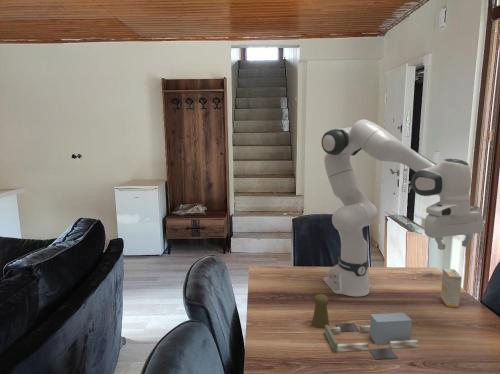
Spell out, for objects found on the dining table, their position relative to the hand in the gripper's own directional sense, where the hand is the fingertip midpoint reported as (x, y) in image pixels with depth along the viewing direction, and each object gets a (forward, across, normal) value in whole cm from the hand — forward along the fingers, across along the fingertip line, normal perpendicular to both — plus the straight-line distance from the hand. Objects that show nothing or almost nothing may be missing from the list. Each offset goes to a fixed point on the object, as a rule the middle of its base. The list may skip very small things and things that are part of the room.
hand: (453, 247), depth 122 cm
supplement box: (+30, -16, -20) cm, 40 cm away
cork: (+29, +42, -15) cm, 53 cm away
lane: (+30, +30, -2) cm, 42 cm away
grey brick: (+30, +23, -2) cm, 38 cm away
